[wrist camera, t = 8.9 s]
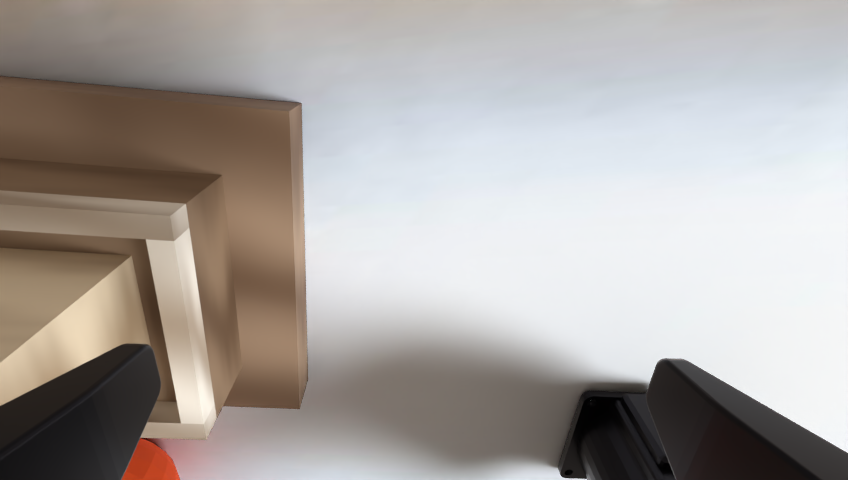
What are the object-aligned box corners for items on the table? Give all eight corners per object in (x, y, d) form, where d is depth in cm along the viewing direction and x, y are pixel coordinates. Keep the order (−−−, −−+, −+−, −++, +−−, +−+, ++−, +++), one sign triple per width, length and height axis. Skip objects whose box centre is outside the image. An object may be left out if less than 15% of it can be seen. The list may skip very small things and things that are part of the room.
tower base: (307, 379, 23) (277, 486, 18) (23, 367, 22) (-102, 476, 17) (301, 103, 17) (253, 135, 12) (-88, 68, 16) (-340, 86, 11)
